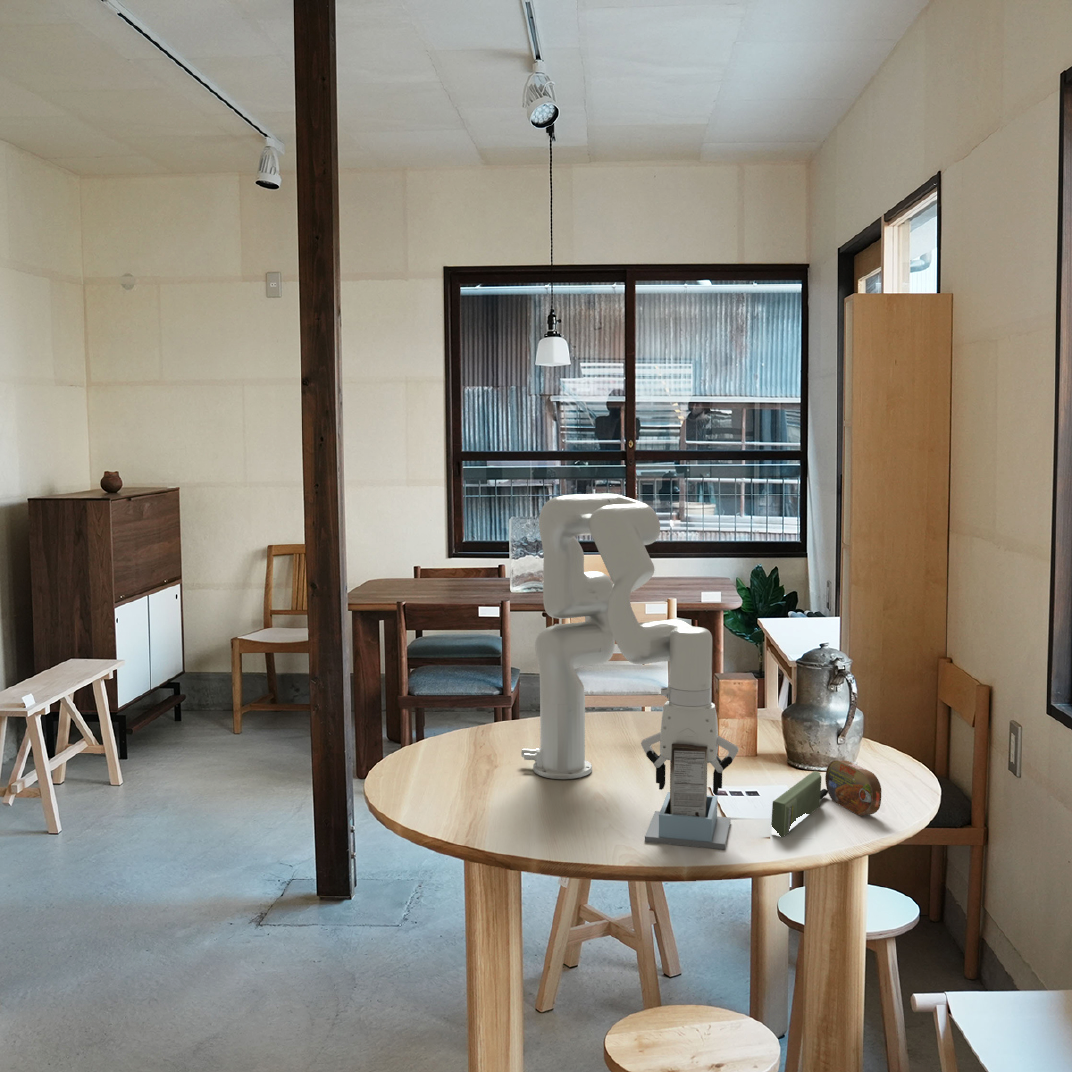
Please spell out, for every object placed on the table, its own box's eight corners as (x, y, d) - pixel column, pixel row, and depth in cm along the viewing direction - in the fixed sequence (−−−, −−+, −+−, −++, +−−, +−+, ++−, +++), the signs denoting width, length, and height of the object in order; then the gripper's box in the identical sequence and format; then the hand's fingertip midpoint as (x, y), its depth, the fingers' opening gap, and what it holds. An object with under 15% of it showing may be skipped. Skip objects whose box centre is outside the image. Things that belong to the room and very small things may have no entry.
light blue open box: (644, 841, 184) (644, 814, 184) (655, 816, 197) (655, 790, 196) (725, 849, 181) (725, 821, 180) (730, 822, 193) (730, 796, 193)
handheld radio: (767, 835, 188) (815, 796, 208) (784, 840, 186) (832, 799, 207) (769, 799, 187) (818, 763, 208) (787, 804, 185) (834, 767, 206)
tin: (823, 796, 208) (824, 754, 207) (837, 794, 209) (838, 753, 208) (869, 822, 194) (870, 778, 193) (884, 820, 195) (885, 776, 194)
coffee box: (669, 816, 194) (670, 731, 192) (704, 818, 193) (705, 732, 192) (670, 835, 185) (671, 746, 183) (706, 836, 184) (708, 747, 183)
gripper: (638, 698, 185) (637, 792, 187) (737, 704, 181) (736, 800, 183) (645, 688, 192) (644, 779, 194) (740, 694, 188) (738, 786, 190)
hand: (688, 789), depth 188 cm, fingers open, 9 cm apart
